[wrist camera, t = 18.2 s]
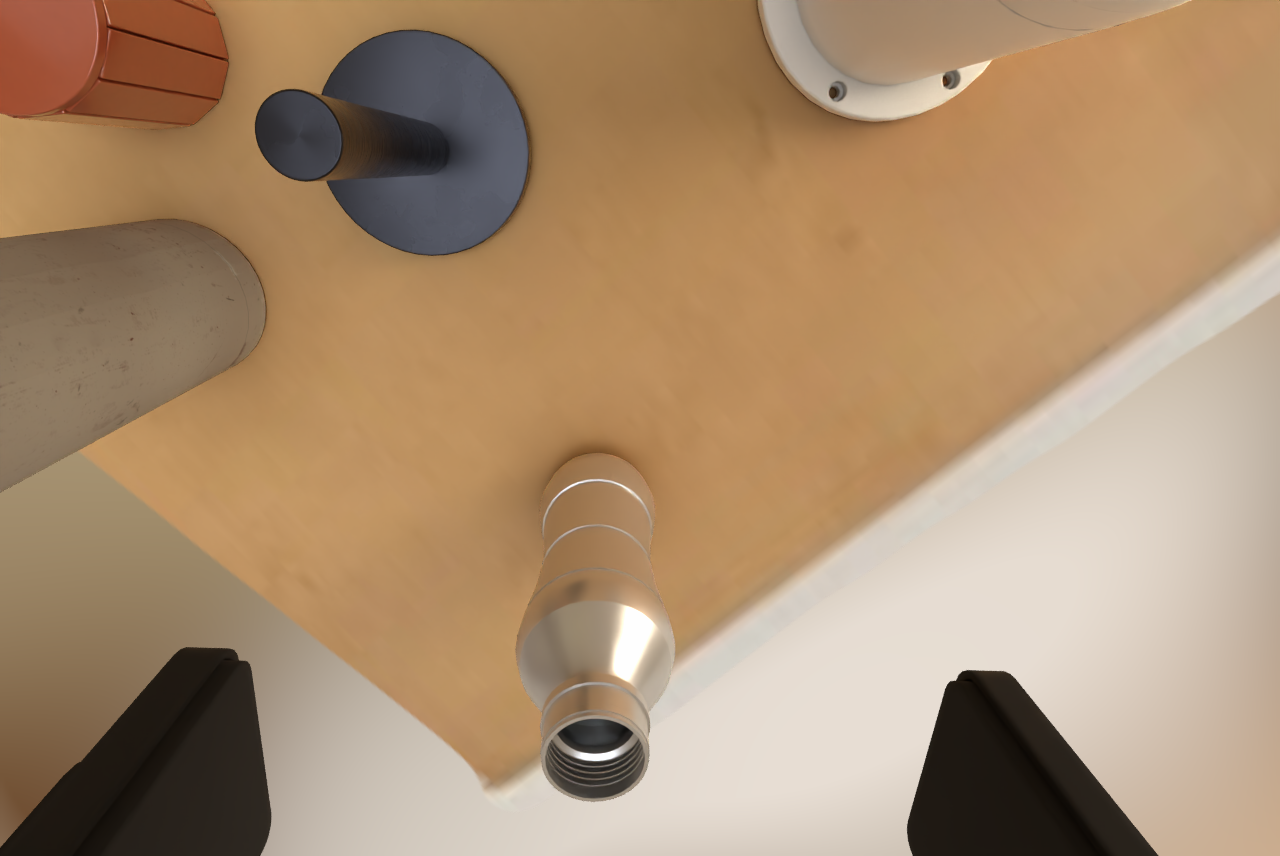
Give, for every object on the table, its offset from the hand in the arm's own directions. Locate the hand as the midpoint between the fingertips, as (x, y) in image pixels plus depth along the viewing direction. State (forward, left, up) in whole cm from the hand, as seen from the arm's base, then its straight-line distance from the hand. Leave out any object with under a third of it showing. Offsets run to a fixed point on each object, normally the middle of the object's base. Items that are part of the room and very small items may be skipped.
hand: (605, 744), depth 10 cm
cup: (-3, -24, -30) cm, 39 cm away
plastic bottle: (+10, +4, -31) cm, 32 cm away
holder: (-4, -11, -30) cm, 32 cm away
